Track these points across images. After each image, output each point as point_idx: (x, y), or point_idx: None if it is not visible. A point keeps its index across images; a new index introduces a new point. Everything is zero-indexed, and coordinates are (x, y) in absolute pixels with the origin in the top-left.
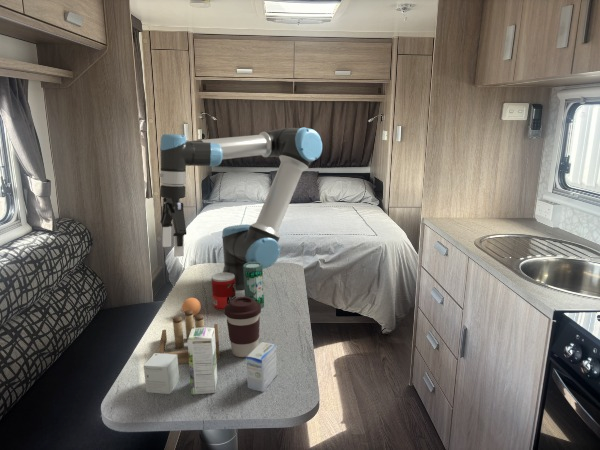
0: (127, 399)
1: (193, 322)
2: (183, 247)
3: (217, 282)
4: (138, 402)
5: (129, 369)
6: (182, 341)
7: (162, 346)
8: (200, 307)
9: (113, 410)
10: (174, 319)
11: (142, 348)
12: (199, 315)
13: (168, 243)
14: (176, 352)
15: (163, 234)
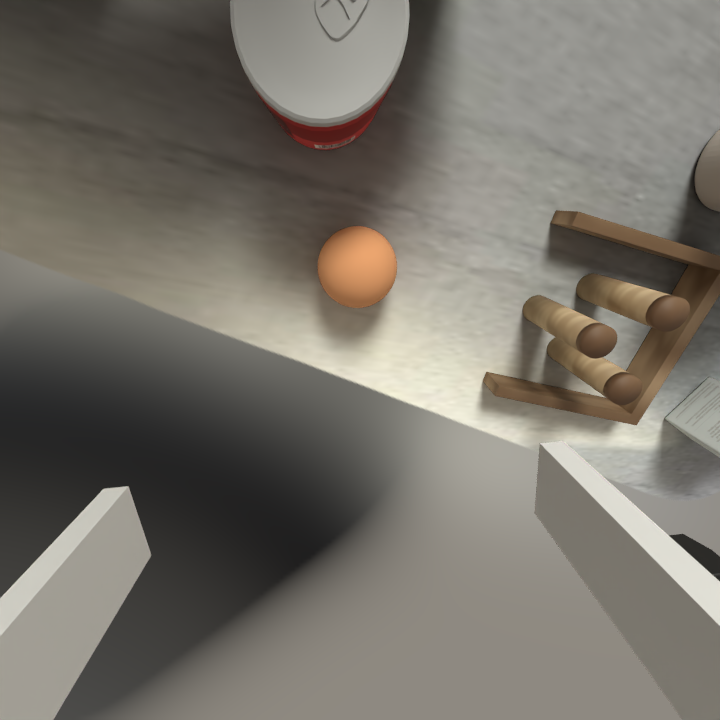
0: (686, 471)
1: (580, 313)
2: (628, 500)
3: (377, 103)
4: (713, 456)
5: None
6: None
7: (597, 408)
8: (376, 231)
9: (699, 492)
10: (626, 400)
11: (499, 433)
12: (667, 311)
13: (116, 536)
14: (658, 380)
15: (57, 703)
